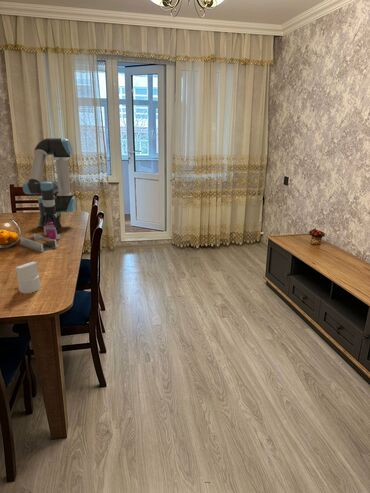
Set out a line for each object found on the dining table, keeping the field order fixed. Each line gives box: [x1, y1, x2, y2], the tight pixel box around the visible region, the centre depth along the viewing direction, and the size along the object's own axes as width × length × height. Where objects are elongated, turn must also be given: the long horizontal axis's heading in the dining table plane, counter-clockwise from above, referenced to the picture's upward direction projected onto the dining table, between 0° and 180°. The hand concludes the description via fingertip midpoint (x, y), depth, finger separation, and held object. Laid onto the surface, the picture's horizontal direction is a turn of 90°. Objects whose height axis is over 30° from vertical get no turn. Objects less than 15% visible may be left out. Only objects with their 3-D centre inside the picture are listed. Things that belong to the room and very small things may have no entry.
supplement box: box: [45, 222, 56, 239], centre depth 230 cm, size 6×6×12 cm
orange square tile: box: [35, 240, 47, 244], centre depth 213 cm, size 7×7×1 cm
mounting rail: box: [19, 233, 59, 253], centre depth 213 cm, size 24×12×6 cm, turn 53°
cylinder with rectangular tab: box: [15, 261, 41, 294], centre depth 157 cm, size 9×9×12 cm
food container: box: [56, 212, 62, 221], centre depth 285 cm, size 12×6×10 cm, turn 71°
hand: (52, 236), depth 232 cm, fingers open, 13 cm apart
